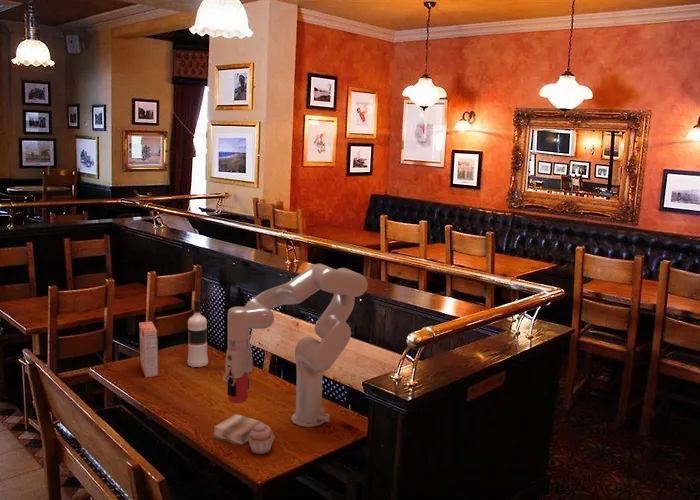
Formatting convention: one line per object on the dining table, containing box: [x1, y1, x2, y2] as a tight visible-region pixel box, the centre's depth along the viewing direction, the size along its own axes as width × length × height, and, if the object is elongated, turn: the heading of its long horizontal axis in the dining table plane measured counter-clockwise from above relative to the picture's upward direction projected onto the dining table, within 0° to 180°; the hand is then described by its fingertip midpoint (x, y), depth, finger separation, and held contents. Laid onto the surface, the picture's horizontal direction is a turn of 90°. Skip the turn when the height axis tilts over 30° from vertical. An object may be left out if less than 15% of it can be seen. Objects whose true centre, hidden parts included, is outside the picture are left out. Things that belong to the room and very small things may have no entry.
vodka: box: [186, 299, 209, 368], centre depth 294 cm, size 9×9×30 cm
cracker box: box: [138, 321, 159, 379], centre depth 285 cm, size 14×6×21 cm, turn 25°
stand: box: [212, 413, 263, 447], centre depth 231 cm, size 12×12×4 cm
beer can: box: [227, 372, 249, 404], centre depth 228 cm, size 7×7×12 cm
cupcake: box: [247, 421, 275, 455], centre depth 220 cm, size 9×9×10 cm
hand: (238, 391), depth 229 cm, fingers closed on beer can, 6 cm apart
